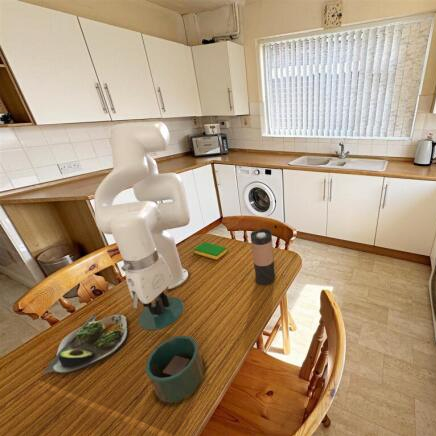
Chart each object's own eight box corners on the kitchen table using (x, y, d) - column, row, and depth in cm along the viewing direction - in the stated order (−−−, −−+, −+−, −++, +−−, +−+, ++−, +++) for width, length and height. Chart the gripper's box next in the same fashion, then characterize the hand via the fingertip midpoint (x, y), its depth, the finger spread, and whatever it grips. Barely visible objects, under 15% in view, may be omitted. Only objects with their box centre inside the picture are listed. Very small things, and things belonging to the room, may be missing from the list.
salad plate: (62, 331, 73) (55, 320, 71) (129, 307, 81) (125, 297, 79) (43, 388, 58) (33, 376, 56) (128, 352, 66) (122, 340, 64)
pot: (145, 395, 56) (134, 372, 52) (177, 353, 65) (170, 331, 62) (184, 410, 53) (175, 387, 49) (212, 363, 62) (206, 341, 59)
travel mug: (272, 286, 89) (268, 239, 80) (252, 283, 90) (246, 238, 82) (277, 273, 96) (274, 229, 87) (259, 271, 97) (254, 228, 89)
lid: (129, 326, 67) (121, 309, 64) (161, 296, 77) (155, 280, 74) (164, 336, 64) (157, 319, 61) (192, 303, 74) (188, 287, 71)
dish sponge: (217, 260, 105) (216, 255, 104) (194, 253, 111) (193, 248, 110) (227, 251, 111) (226, 247, 110) (205, 245, 117) (204, 241, 116)
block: (166, 383, 58) (162, 372, 56) (179, 366, 61) (175, 355, 60) (181, 388, 56) (177, 377, 55) (193, 370, 60) (190, 359, 58)
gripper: (125, 281, 54) (149, 336, 62) (175, 244, 67) (189, 292, 76) (100, 275, 56) (126, 329, 64) (154, 240, 69) (170, 288, 78)
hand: (160, 309), depth 70 cm, fingers closed on lid, 2 cm apart
